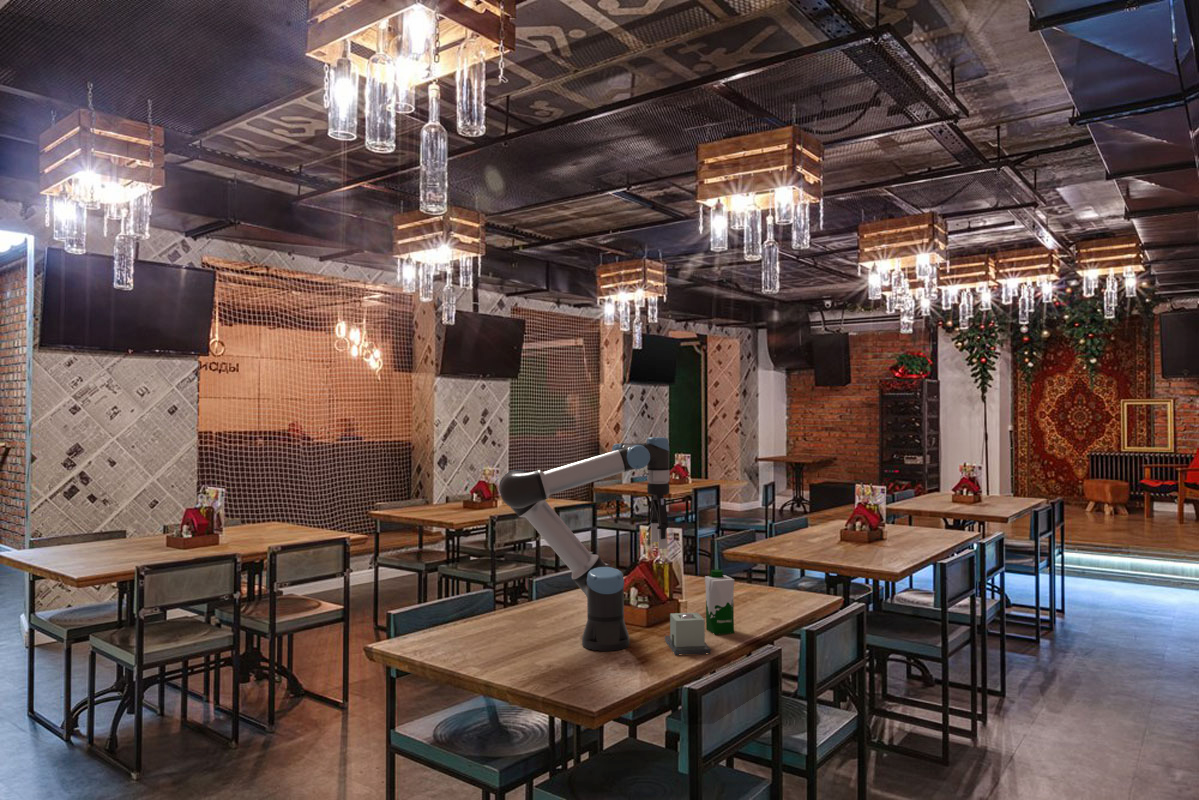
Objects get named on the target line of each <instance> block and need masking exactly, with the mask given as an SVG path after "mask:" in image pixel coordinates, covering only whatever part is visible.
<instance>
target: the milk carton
mask: <svg viewBox="0 0 1199 800" xmlns="http://www.w3.org/2000/svg"><path fill="white" fill-rule="evenodd" d="M704 584H705V623H706V628H705V629H706V630H707V631H708V630H709V631H708V632H710V633H711V632H712V634H713V633H714V634H715V635H714V634H713V635H714V636H717V635H716V634H719V635H727V634H735V626H734V625H735V624H734V621H735V620H734V619H735V618H734V615H735V614H734V609H735V607H734V605H735V604H734V588H735V587H734V586H735V579H734V578H732V577H730V576H727V575H726V574H724V571H723V569H711V570H710V575H707V576H706V575H705V576H704Z"/></svg>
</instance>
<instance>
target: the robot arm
mask: <svg viewBox="0 0 1199 800" xmlns="http://www.w3.org/2000/svg"><path fill="white" fill-rule="evenodd" d="M669 442H670V441H669V439H668V438H667V437H663V436H662V437H661V436H653V437H652V436H651V437H646V442H641V443H639V442H638V443H637V442H636V443H633V442H632V443H631V442H630V443H624V442H622V443H614V444H613V445H612V448H611V451H610V452H606V453H602V454H600V455H599V454H598V455H595V456H592V457H589V458H585V459H582V460H579V461H575V462H573V463H568V464H565V465H562V466H558V467H555V468H552V469H548V470H544V471H542V470H541V469H538V470H534V471H529V472H527V471H526V470H523V469H512V470H510V471H508V472H507V473H505V474H504V475H503V476H502V478H501V480H500V481H499V485H498V489H499V495H500V497H501V500H502V501H503V502H504V503H505V504H506V505H507V506H508V507H510V509H512V511H513V512H514V514H516V515H517V516H518V518H525V519H526V520H527V521H528V522H529V523H530V525H532V527H533V528H534V529H535V530H536V531H537V533H538V534H539V535H540V536H541V537H542V539H543V540H544V541H545V542H546V543H547V544H548V545H549V547H550V548H551V549H552V550H553V552H555V554H556V555H557V556H558V557H559V558H560V560H562V562H563V563H564V564H565V566H567V568H569V570H570V571H571V579H572V580H573V581H574V583H575V584H576V586H578V588H579V589H581V591H582V592H583V594H584V595H585V596H586V599H587V601H586V602H587V606H586V607H587V611H586V612H587V613H586V614H587V621H586V623H585V624H586V625H585V627H584V630H583V634H582V636H581V637H582V638H581V645H583V646H584V647H583V646H582V647H583V648H585V647H586V648H585V649H587V648H588V649H587V650H590V649H592V650H591V651H596V650H599V652H615V651H621V650H624V649H626V648H628V647H630V643H631V641H630V639H631V638H630V635H629V632H628V631H629V630H628V629H627V626H626V622H625V605H624V604H625V602H624V601H625V594H624V593H625V591H624V589H625V587H624V586H625V579H624V573H623V572H622V571H621V570H619V569H618V568H614V567H612V566H611V567H610V566H608V565H607V564H606V563H605V562H604V560H603V559H602V558H601V557H600V555H598V554H592V553H591V552H590V551H589V550H588V549H587V547H586V546H585V545H584V544H583V543H582V542H581V541H580V540H579V538H578V537H577V536H576V535H575V533H573V531H572V530H571V529H570V527H569V526H568V525H567V524H566V523H565V522H564V520H562V518H561V517H560V516H559V515H558V513H557V512H556V511H555V510H554V509H553V508H552V507H551V505H550V504H549V503H548V502H547V501H546V500H548V499H549V497H550V496H552V495H554V494H557V493H560V492H563V491H566V490H570V489H573V488H576V487H580V486H583V485H586V484H589V483H593V482H596V481H600V480H603V479H607V478H609V477H612V476H615V475H619V474H622V473H626V472H629V471H632V470H640V469H643V468H646V470H647V472H645V476H646V477H647V482H648V483H647V485H646V487H647V488H646V489H647V490H646V491H647V492H646V493H647V494H648V495H650V498H651V499H650V500H651V502H650V513H649V520H650V537H651V539H650V543H657V544H658V546H657V548H658V549H659V550H663V549H664V550H665V549H668V528H669V522H668V521H669V519H668V511H667V499H666V498H664V495H666V496H667V495H669V494H670V483H669V482H670V451H671V450H670V443H669ZM620 649H621V650H620ZM614 650H615V651H614Z"/></svg>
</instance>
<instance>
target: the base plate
mask: <svg viewBox="0 0 1199 800" xmlns="http://www.w3.org/2000/svg"><path fill="white" fill-rule="evenodd" d="M681 619H693V615H692V614H681ZM664 641H665V642H666V644H667V646H668V645H669V646H668V647H669V648H671V649H672V650H671V649H670V650H671V651H672V653H673V652H674V653H673V654H674V656H680V655H679V654H698V655H707V654H706V653H711V654H712V651H711V650H712V649H711V648H710V647H709V646H708V644H707V643H706V642H705V646H688V647H676V646H675V645H674V641H672V640H671V639H670V635H665V636H664Z"/></svg>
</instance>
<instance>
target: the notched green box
mask: <svg viewBox="0 0 1199 800" xmlns="http://www.w3.org/2000/svg"><path fill="white" fill-rule="evenodd" d="M681 614H692V615H693V619H681ZM669 621H670V622H669V632H670V635H669V636H670V639H671V640H672V641H674V645H675V646H676V647H688V646H705V643H706V640H705V639H706V638H705V637H706V635H705V632H706V631H705V629H706V628H705V623H706V619H704V618H703V617H702V615H701V614H699V612H681V613H680V612H679V613H678V612H675V613H674V612H673V613H670V614H669Z"/></svg>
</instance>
